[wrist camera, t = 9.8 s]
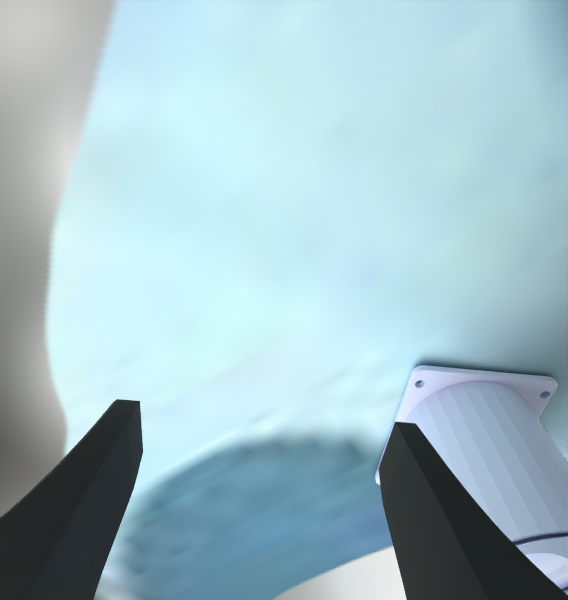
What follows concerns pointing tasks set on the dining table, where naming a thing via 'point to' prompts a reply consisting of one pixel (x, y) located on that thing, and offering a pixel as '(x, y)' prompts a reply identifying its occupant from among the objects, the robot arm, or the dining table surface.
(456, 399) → the robot arm
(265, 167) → the dining table surface
